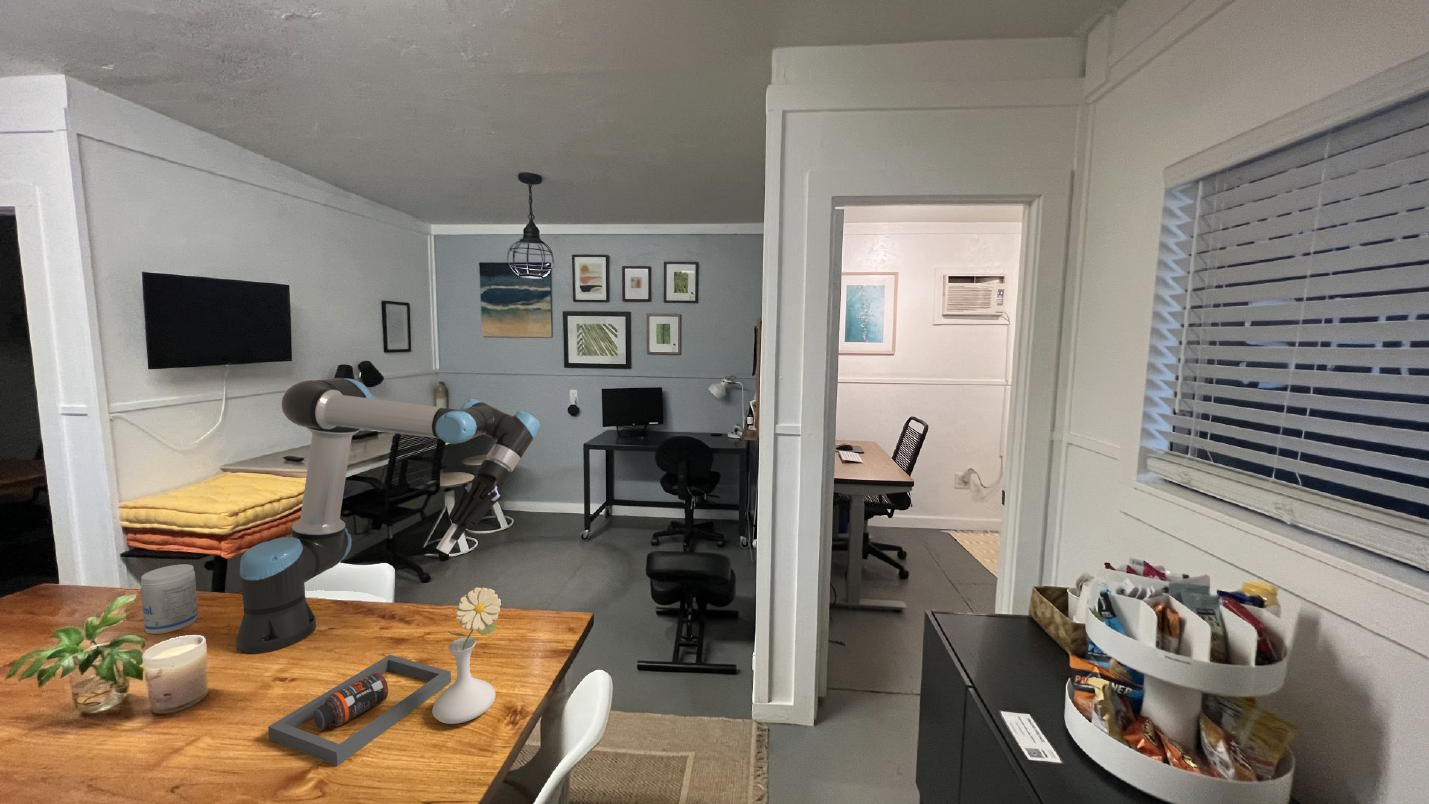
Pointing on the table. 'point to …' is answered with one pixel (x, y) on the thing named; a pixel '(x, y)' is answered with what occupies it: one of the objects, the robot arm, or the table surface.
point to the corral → (338, 753)
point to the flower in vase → (468, 692)
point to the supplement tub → (169, 598)
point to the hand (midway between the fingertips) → (442, 551)
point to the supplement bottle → (351, 701)
